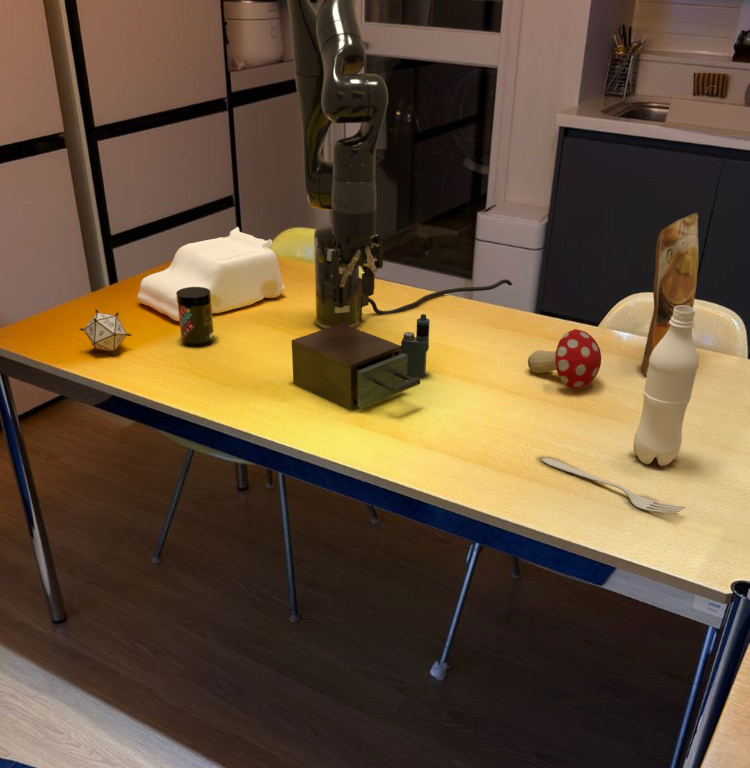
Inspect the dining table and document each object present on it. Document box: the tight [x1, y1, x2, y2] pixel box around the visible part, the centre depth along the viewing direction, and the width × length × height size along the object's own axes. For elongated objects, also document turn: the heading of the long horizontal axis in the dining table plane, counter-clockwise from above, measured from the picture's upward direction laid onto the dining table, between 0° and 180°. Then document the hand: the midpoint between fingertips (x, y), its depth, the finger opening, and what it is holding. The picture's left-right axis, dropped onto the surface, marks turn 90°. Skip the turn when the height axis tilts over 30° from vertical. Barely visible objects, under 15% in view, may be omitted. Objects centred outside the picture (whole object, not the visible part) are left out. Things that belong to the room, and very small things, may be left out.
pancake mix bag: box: [640, 211, 700, 377], centre depth 167 cm, size 7×19×28 cm, turn 136°
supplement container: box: [176, 287, 215, 348], centre depth 178 cm, size 7×7×10 cm
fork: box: [541, 457, 687, 515], centre depth 133 cm, size 3×24×2 cm, turn 44°
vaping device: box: [400, 313, 430, 379], centre depth 165 cm, size 3×5×12 cm, turn 78°
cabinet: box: [291, 323, 401, 411], centre depth 161 cm, size 16×13×9 cm
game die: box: [79, 308, 132, 356], centre depth 174 cm, size 9×8×10 cm
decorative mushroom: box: [527, 328, 602, 391], centre depth 165 cm, size 11×11×15 cm
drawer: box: [354, 353, 421, 409], centre depth 158 cm, size 20×11×7 cm, turn 45°
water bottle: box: [633, 306, 700, 467], centre depth 135 cm, size 7×7×25 cm
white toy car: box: [136, 226, 286, 322], centre depth 198 cm, size 19×30×13 cm, turn 132°
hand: (353, 300), depth 155 cm, fingers open, 8 cm apart
